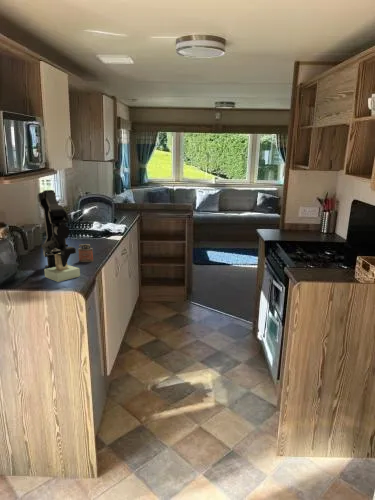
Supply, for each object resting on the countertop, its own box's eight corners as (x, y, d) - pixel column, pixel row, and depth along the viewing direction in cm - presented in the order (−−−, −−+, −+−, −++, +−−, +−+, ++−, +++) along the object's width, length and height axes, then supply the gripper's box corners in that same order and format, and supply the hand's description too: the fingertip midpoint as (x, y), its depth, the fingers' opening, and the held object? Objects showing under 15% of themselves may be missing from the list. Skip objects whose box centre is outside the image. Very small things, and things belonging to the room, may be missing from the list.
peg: (56, 274, 187) (54, 254, 185) (63, 272, 190) (62, 252, 188) (60, 275, 185) (59, 255, 182) (68, 273, 188) (66, 253, 185)
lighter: (94, 260, 219) (92, 243, 216) (92, 261, 215) (91, 244, 213) (79, 260, 218) (78, 243, 216) (78, 262, 215) (77, 244, 213)
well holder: (45, 277, 187) (44, 269, 186) (66, 271, 196) (66, 264, 195) (57, 281, 179) (57, 273, 179) (80, 276, 188) (79, 268, 187)
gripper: (33, 234, 183) (36, 266, 187) (53, 239, 171) (56, 272, 175) (54, 231, 191) (57, 261, 195) (75, 235, 179) (77, 267, 183)
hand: (61, 265), depth 186 cm, fingers closed on peg, 4 cm apart
